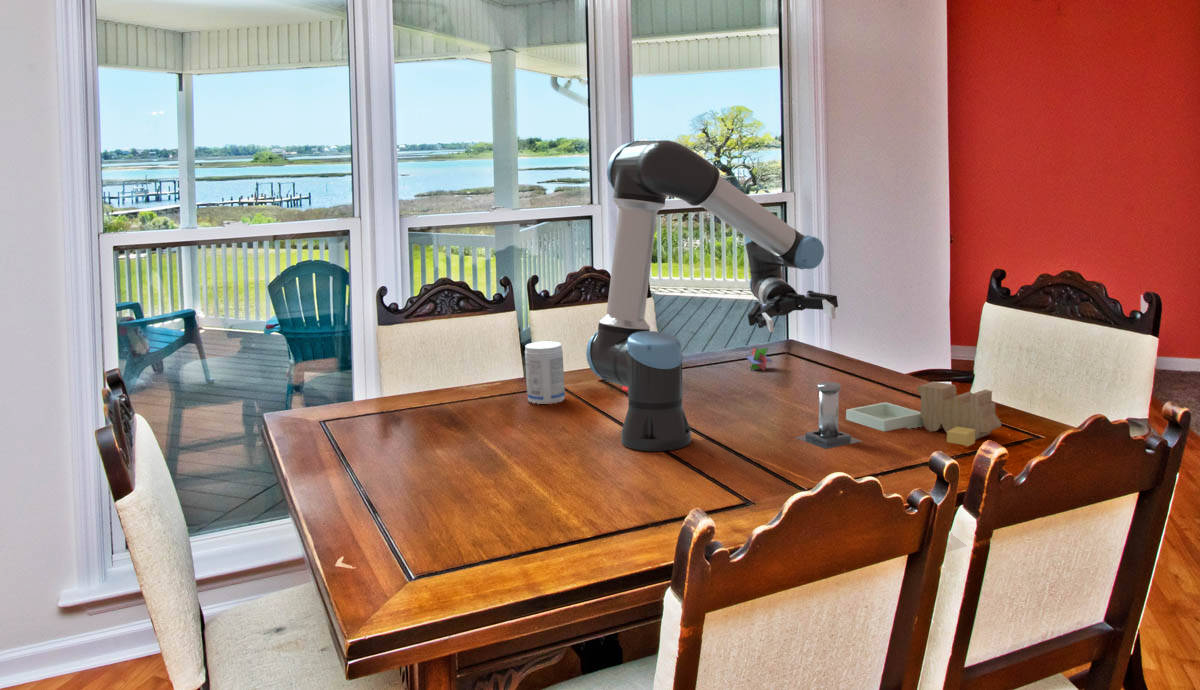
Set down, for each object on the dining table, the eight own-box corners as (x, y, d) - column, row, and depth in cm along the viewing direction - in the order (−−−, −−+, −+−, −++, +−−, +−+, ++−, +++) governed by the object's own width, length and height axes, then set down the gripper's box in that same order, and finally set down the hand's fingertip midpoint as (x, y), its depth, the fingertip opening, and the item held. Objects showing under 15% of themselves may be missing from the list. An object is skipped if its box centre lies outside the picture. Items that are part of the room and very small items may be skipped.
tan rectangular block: (965, 448, 209) (966, 434, 208) (946, 445, 212) (947, 431, 211) (974, 443, 213) (975, 429, 212) (956, 440, 215) (956, 426, 215)
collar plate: (825, 452, 209) (825, 443, 209) (794, 441, 218) (794, 432, 217) (862, 444, 214) (862, 435, 213) (830, 433, 222) (830, 425, 222)
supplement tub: (561, 395, 264) (559, 339, 261) (568, 403, 255) (566, 346, 252) (524, 398, 262) (522, 342, 259) (530, 407, 253) (527, 349, 250)
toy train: (987, 443, 212) (989, 397, 211) (915, 428, 225) (916, 384, 223) (1000, 438, 216) (1003, 392, 214) (929, 423, 229) (930, 380, 227)
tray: (884, 434, 220) (884, 421, 220) (846, 422, 231) (846, 409, 230) (924, 426, 226) (924, 413, 225) (885, 415, 236) (885, 402, 236)
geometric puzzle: (780, 364, 284) (769, 339, 287) (761, 367, 281) (750, 342, 284) (767, 375, 290) (756, 351, 293) (748, 378, 287) (737, 353, 290)
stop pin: (826, 443, 212) (827, 388, 210) (811, 438, 216) (812, 383, 214) (844, 440, 215) (845, 384, 212) (829, 434, 219) (830, 380, 216)
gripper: (832, 300, 239) (861, 323, 219) (729, 323, 239) (748, 348, 218) (827, 270, 237) (856, 290, 217) (723, 292, 237) (743, 315, 216)
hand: (802, 319), depth 217 cm, fingers open, 13 cm apart
